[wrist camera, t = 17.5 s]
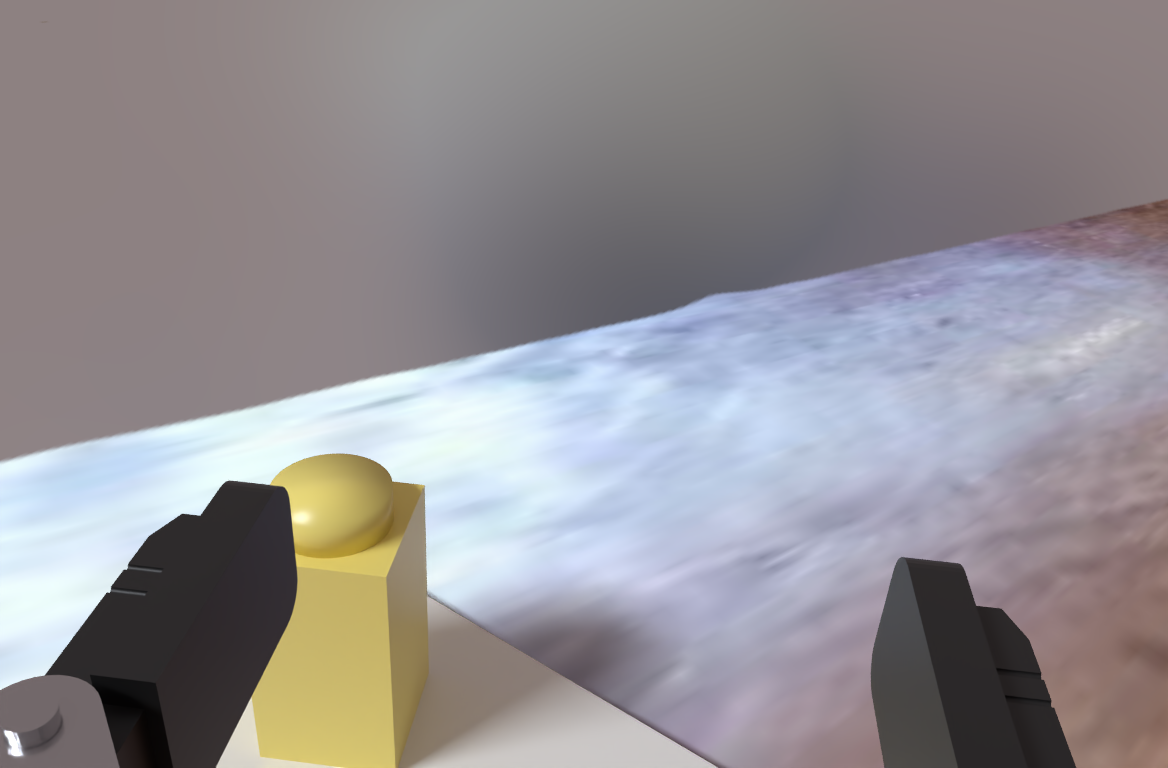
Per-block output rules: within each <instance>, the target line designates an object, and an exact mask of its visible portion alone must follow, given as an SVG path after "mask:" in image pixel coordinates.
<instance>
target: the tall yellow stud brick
mask: <svg viewBox="0 0 1168 768" xmlns="http://www.w3.org/2000/svg"><path fill="white" fill-rule="evenodd" d="M270 485H274V486H283V487H285V489H286V490H287V492H288V495H289V499H290V508H291V517H292V527H293V537H294V546H295V556H296V566H297V577H298V581H297V594H296V600H295V605H294V609H293V612H292V616H291V618H290V621H289V623H288V625H287V627H286V629H285V631H284V633H283V635H282V637H281V639H280V641H279V643H278V645H277V647H276V649H275V651H274V653H273V655H272V657H271V659H270V661H269V663H268V665H267V667H266V669H265V671H264V673H263V675H262V677H261V679H260V681H259V683H258V685H257V687H256V689H255V691H254V693H253V695H252V704H253V711H254V718H255V725H256V732H257V739H258V746H259V753H260V757H265V758H273V759H280V760H288V761H296V762H303V763H311V764H319V765H326V766H334V767H341V768H398V766H399V763H400V760H401V757H402V754H403V751H404V748H405V745H406V742H407V739H408V736H409V732H410V729H411V726H412V723H413V720H414V717H415V714H416V711H417V708H418V705H419V702H420V698H421V695H422V692H423V689H424V686H425V683H426V680H427V677H428V674H429V656H428V613H427V571H426V528H425V486H424V485H418V484H409V483H400V482H392V479H391V476H390V474H389V473H388V471H387V470H386V469H385V468H384V467H383V466H381V465H380V464H378V463H377V462H375V461H373V460H371V459H368V458H365V457H361V456H357V455H351V454H325V455H318V456H314V457H310V458H306V459H303V460H301V461H298V462H296V463H294V464H292V465H290V466H288V467H286V468H285V469H283V470H282V471H281V472H280V473H279V474H278V475H277V476H276V477H275V478H274V479H273V480H272V482H271V484H270Z"/></svg>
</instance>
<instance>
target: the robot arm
mask: <svg viewBox="0 0 1168 768" xmlns="http://www.w3.org/2000/svg"><path fill="white" fill-rule="evenodd" d="M297 581H298V577H297V566H296V556H295V546H294V537H293V527H292V517H291V508H290V499H289V495H288V492H287V490H286V489H285V487H283V486H274V485H265V484H256V483H247V482H238V481H227V482H225V483H224V484H223V485H222V486H221V487H220V489H219V490H218V491H217V493H216V494H215V496H214V497H213V499H212V500H211V501H210V503H209V504H208V506H207V507H206V509H205V510H204V511H203V513H202V514H201V516H198V515H189V514H181V515H180V516H178V517H177V518H175V519H174V520H172V521H171V522H169V523H168V524H166V525H165V526H163V527H162V528H160V529H159V530H157V531H156V532H155V533H153V534H152V535H150V536H149V537H148V538H147V539H146V541H145V542H144V543H143V545H142V546H141V547H140V549H139V550H138V552H137V553H136V554H135V556H134V557H133V558H132V560H131V561H130V562H129V564H128V569H127V570H123V572H122V573H121V574H120V576H119V577H118V578H117V580H116V581H115V582H114V584H113V585H112V586H111V592H110V593H106V594H105V596H104V597H103V598H102V600H101V601H100V602H99V604H98V605H97V606H96V608H95V609H94V610H93V612H92V613H91V614H90V616H89V617H88V618H87V620H86V621H85V622H84V624H83V625H82V626H81V628H80V629H79V630H78V632H77V633H76V634H75V636H74V637H73V638H72V640H71V641H70V642H69V644H68V645H67V646H66V648H65V649H64V650H63V652H62V653H61V655H60V656H59V657H58V659H57V660H56V661H55V663H54V664H53V665H52V667H51V668H50V669H49V671H48V672H47V673H46V675H45V676H40V677H34V678H30V679H26V680H23V681H20V682H18V683H15V684H12V685H10V686H8V687H6V688H4V689H2V690H0V768H216V766H217V764H218V762H219V760H220V758H221V756H222V754H223V752H224V750H225V748H226V746H227V744H228V742H229V740H230V738H231V736H232V734H233V732H234V731H235V729H236V727H237V725H238V723H239V721H240V719H241V717H242V715H243V713H244V711H245V709H246V707H247V705H248V703H249V701H250V699H251V697H252V695H253V693H254V691H255V689H256V687H257V685H258V683H259V681H260V679H261V677H262V675H263V673H264V671H265V669H266V667H267V665H268V663H269V661H270V659H271V657H272V655H273V653H274V651H275V649H276V647H277V645H278V643H279V641H280V639H281V637H282V635H283V633H284V631H285V629H286V627H287V625H288V623H289V621H290V618H291V616H292V612H293V609H294V605H295V600H296V594H297ZM871 690H872V698H873V704H874V709H875V715H876V721H877V727H878V732H879V738H880V744H881V750H882V755H883V761H884V767H885V768H1076V766H1075V763H1074V761H1073V758H1072V755H1071V752H1070V750H1069V747H1068V744H1067V741H1066V739H1065V736H1064V733H1063V731H1062V728H1061V725H1060V722H1059V720H1058V717H1057V714H1056V712H1055V709H1054V708H1052V707H1051V698H1050V695H1049V693H1048V690H1047V687H1046V684H1045V682H1044V680H1041V671H1040V668H1039V665H1038V663H1037V660H1036V657H1035V655H1034V652H1033V649H1032V646H1031V644H1030V641H1029V639H1028V638H1027V637H1026V636H1025V635H1024V634H1023V632H1022V631H1021V630H1020V629H1019V628H1018V627H1017V626H1016V625H1015V623H1014V622H1013V621H1012V620H1011V619H1010V618H1009V617H1008V616H1007V614H1006V613H1005V612H1004V611H1003V610H1002V609H999V608H990V607H982V606H976V604H975V601H974V598H973V595H972V592H971V589H970V586H969V582H968V579H967V576H966V573H965V570H964V568H963V567H962V565H961V564H958V563H950V562H941V561H932V560H923V559H914V558H905V557H901V558H899V559H898V561H897V563H896V565H895V568H894V571H893V575H892V579H891V583H890V586H889V590H888V594H887V598H886V601H885V605H884V609H883V613H882V617H881V620H880V624H879V628H878V632H877V636H876V639H875V643H874V648H873V654H872V663H871Z"/></svg>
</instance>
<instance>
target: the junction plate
mask: <svg viewBox="0 0 1168 768" xmlns="http://www.w3.org/2000/svg"><path fill="white" fill-rule="evenodd" d="M427 613H428V656H429V674H428V677H427V680H426V683H425V686H424V689H423V692H422V695H421V698H420V702H419V705H418V708H417V711H416V714H415V717H414V720H413V723H412V726H411V729H410V732H409V736H408V739H407V742H406V745H405V748H404V751H403V754H402V757H401V760H400V763H399V766H398V768H718V767H716V766H714V765H713V764H711V763H709V762H708V761H706V760H704V759H703V758H701V757H699V756H697V755H696V754H694V753H692V752H691V751H689V750H687V749H686V748H684V747H682V746H681V745H679V744H677V743H675V742H674V741H672V740H670V739H669V738H667V737H665V736H664V735H662V734H660V733H659V732H657V731H655V730H653V729H652V728H650V727H648V726H647V725H645V724H643V723H642V722H640V721H638V720H637V719H635V718H633V717H631V716H630V715H628V714H626V713H625V712H623V711H621V710H620V709H618V708H616V707H615V706H613V705H611V704H609V703H608V702H606V701H604V700H603V699H601V698H599V697H598V696H596V695H594V694H593V693H591V692H589V691H587V690H586V689H584V688H582V687H581V686H579V685H577V684H576V683H574V682H572V681H571V680H569V679H567V678H565V677H564V676H562V675H560V674H559V673H557V672H555V671H554V670H552V669H550V668H548V667H547V666H545V665H543V664H542V663H540V662H538V661H537V660H535V659H533V658H532V657H530V656H528V655H526V654H525V653H523V652H521V651H520V650H518V649H516V648H515V647H513V646H511V645H510V644H508V643H506V642H504V641H503V640H501V639H499V638H498V637H496V636H494V635H493V634H491V633H489V632H488V631H486V630H484V629H482V628H481V627H479V626H477V625H476V624H474V623H472V622H471V621H469V620H467V619H466V618H464V617H462V616H460V615H459V614H457V613H455V612H454V611H452V610H450V609H449V608H447V607H445V606H444V605H442V604H440V603H438V602H437V601H435V600H433V599H432V598H430V597H428V596H427ZM216 768H341V767H334V766H326V765H319V764H311V763H303V762H296V761H288V760H280V759H273V758H265V757H260V753H259V746H258V739H257V732H256V725H255V718H254V711H253V704H252V697H251V699H250V701H249V703H248V705H247V707H246V709H245V711H244V713H243V715H242V717H241V719H240V721H239V723H238V725H237V727H236V729H235V731H234V732H233V734H232V736H231V738H230V740H229V742H228V744H227V746H226V748H225V750H224V752H223V754H222V756H221V758H220V760H219V762H218V764H217V766H216Z"/></svg>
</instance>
